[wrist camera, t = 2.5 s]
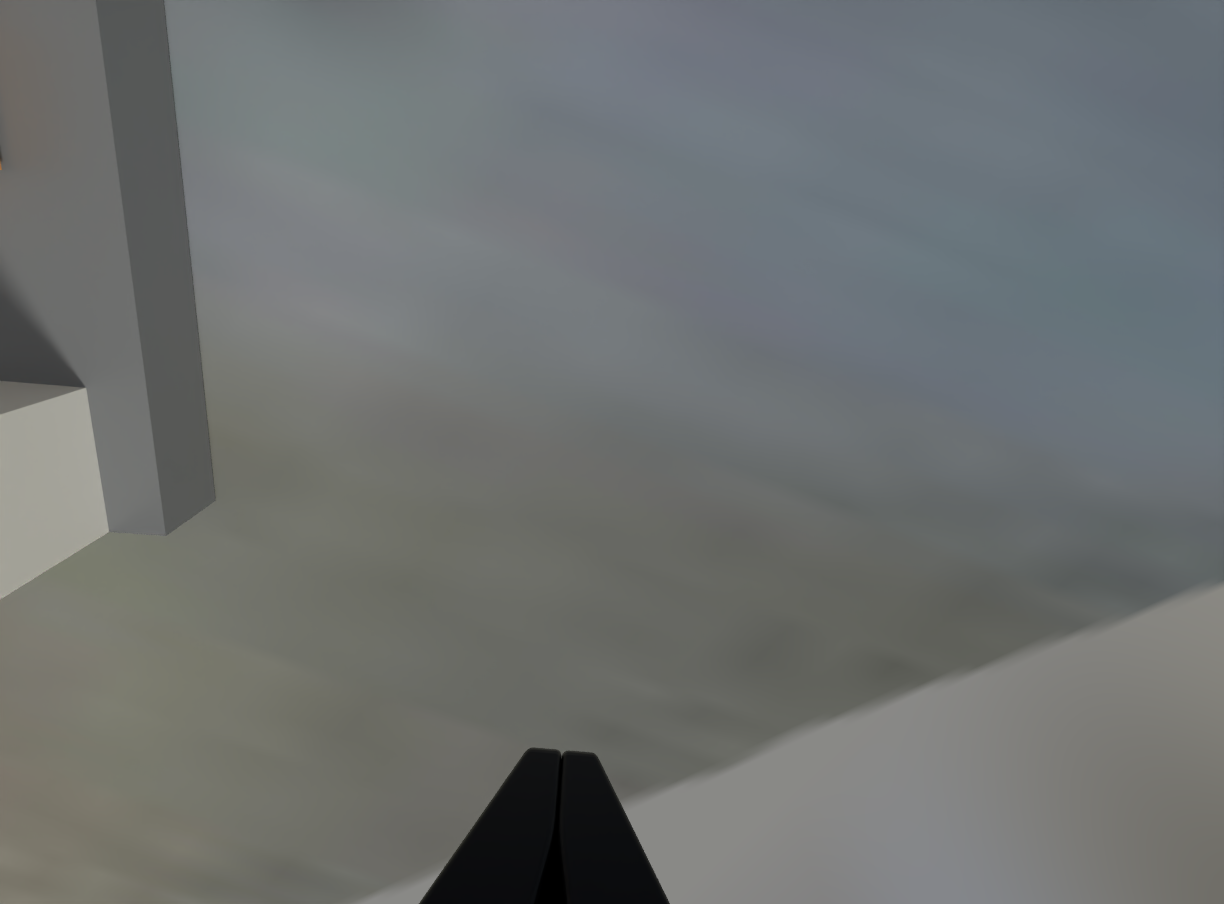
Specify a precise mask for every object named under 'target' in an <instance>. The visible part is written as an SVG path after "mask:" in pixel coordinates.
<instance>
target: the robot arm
mask: <svg viewBox="0 0 1224 904" xmlns="http://www.w3.org/2000/svg"><path fill="white" fill-rule="evenodd" d="M419 904H670V903H669V901H668V899H667V897H666V895H665V893H664V891H663V889H662V887H661V885H660V883H659V881H658V879H657V877H656V875H655V873H654V870H653V868H652V867H651V864H650V862H649V860H648V858H647V856H646V854H645V852H644V850H643V848H642V846H641V844H640V842H639V840H638V838H637V836H636V834H635V832H634V830H633V828H632V826H631V824H630V822H629V820H628V817H627V815H626V813H625V811H624V809H623V807H622V805H621V803H620V801H619V799H618V797H617V795H616V793H615V791H614V789H613V787H612V785H611V783H610V781H609V779H608V777H607V775H606V773H605V771H604V769H603V766H602V764H601V762H600V760H599V759H598V757H597V756H596V755H595V754H594V753H591V752H579V751H565V752H564V753H563V755H562V759H561V753H560V751H558V750H556V749H544V748H530V749H528V750H527V751H526V752H525V753H524V754H523V756H522V757H521V759H520V760H519V762H518V763H517V764H516V766H515V767H514V769H513V770H512V772H511V773H510V774H509V776H508V777H507V779H506V780H505V782H504V783H503V784H502V786H501V787H500V789H499V790H498V792H497V793H496V794H495V796H494V797H493V799H492V800H491V802H490V803H489V804H488V806H487V807H486V809H485V810H484V812H483V813H482V814H481V816H480V817H479V819H478V820H477V822H476V823H475V824H474V826H473V827H472V829H471V830H470V832H469V833H468V834H467V836H466V837H465V839H464V840H463V842H462V843H461V844H460V846H459V847H458V849H457V850H456V852H455V853H454V854H453V856H452V857H451V859H450V860H449V862H448V863H447V864H446V866H445V867H444V869H443V870H442V872H441V873H440V874H439V876H438V877H437V879H436V880H435V882H434V883H433V884H432V886H431V887H430V889H429V890H428V892H427V893H426V894H425V896H424V897H423V899H422V900H421V902H420V903H419Z"/></svg>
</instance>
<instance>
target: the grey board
mask: <svg viewBox="0 0 1224 904" xmlns="http://www.w3.org/2000/svg"><path fill="white" fill-rule="evenodd" d="M0 163H1V168H2V170H0V381H9V382H21V383H34V384H46V385H59V386H71V387H84V388H86V390H87V397H88V403H89V409H90V416H91V422H92V428H93V434H94V441H95V447H96V453H97V459H98V466H99V472H100V478H101V484H102V491H103V497H104V503H105V509H106V516H107V522H108V528H109V532H118V533H132V534H146V535H160V536H166V535H168V534H169V533H171V532H172V531H173V530H175V529H176V528H178V527H179V526H180V525H182V524H183V523H185V522H186V521H187V520H189V519H190V518H192V517H193V516H195V515H196V514H197V513H199V512H200V511H202V510H203V509H204V508H206V507H207V506H209V505H210V504H211V503H213V502H214V501H216V500H215V491H214V481H213V471H212V462H211V452H210V443H209V433H208V423H207V414H206V404H205V394H204V385H203V375H202V366H201V356H200V346H199V337H198V327H197V317H196V308H195V298H194V288H193V279H192V269H191V260H190V250H189V240H188V231H187V221H186V211H185V202H184V192H183V183H182V173H181V163H180V154H179V144H178V134H177V125H176V115H175V105H174V96H173V86H172V77H171V67H170V57H169V48H168V38H167V28H166V19H165V9H164V0H0Z"/></svg>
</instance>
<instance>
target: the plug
mask: <svg viewBox="0 0 1224 904" xmlns="http://www.w3.org/2000/svg"><path fill="white" fill-rule="evenodd" d="M108 532H109V528H108V522H107V516H106V509H105V503H104V497H103V491H102V484H101V478H100V472H99V466H98V459H97V453H96V447H95V441H94V434H93V428H92V422H91V416H90V409H89V403H88V397H87V390H86V388H84V387H71V386H59V385H46V384H34V383H21V382H9V381H0V599H2V598H3V597H5V596H7V595H8V594H10V593H11V592H13V591H15V590H16V589H18V588H19V587H21V586H23V585H24V584H26V583H28V582H29V581H31V580H32V579H34V578H36V577H37V576H39V575H40V574H42V573H44V572H45V571H47V570H48V569H50V568H52V567H53V566H55V565H56V564H58V563H60V562H61V561H63V560H65V559H66V558H68V557H69V556H71V555H73V554H74V553H76V552H77V551H79V550H81V549H82V548H84V547H85V546H87V545H89V544H90V543H92V542H94V541H95V540H97V539H98V538H100V537H102V536H103V535H105V534H106V533H108Z"/></svg>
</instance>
